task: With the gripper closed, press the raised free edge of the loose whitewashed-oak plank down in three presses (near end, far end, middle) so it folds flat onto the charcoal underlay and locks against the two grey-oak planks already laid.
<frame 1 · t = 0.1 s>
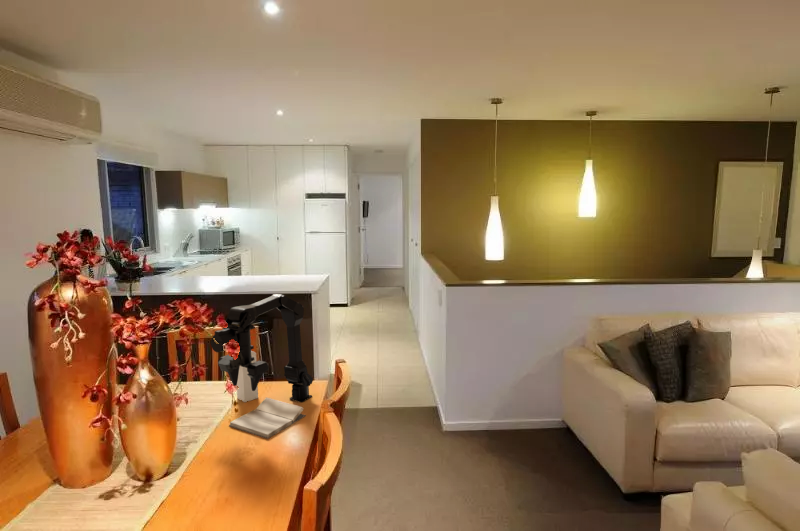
hand: (244, 388, 157), 15 cm above the table, fingers open, 9 cm apart
underlay mat: (268, 420, 164), on the table
laid planks: (261, 425, 161), resting on underlay mat
milk: (247, 398, 184), on the table
loose plank: (279, 409, 169), point 2 cm above the table, hinge at 25.0°
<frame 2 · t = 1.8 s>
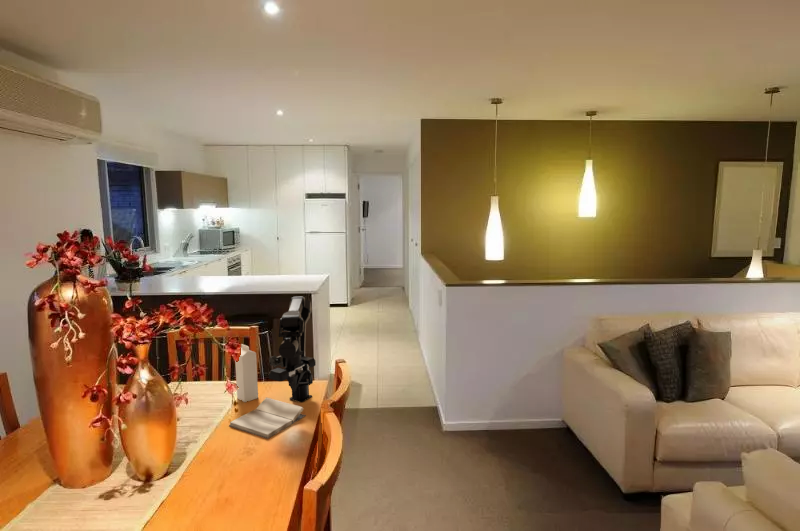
hand: (293, 390, 166), 10 cm above the table, fingers closed
nothing on the table moved.
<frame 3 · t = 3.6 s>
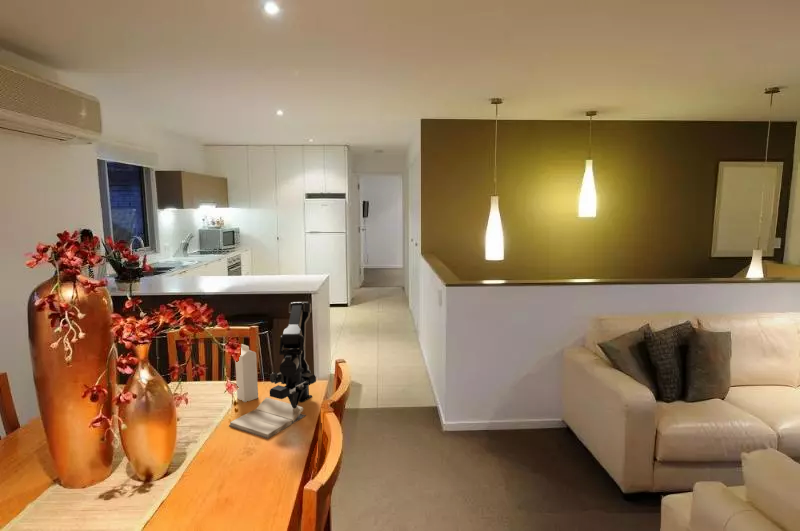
hand: (294, 407, 167), 4 cm above the table, fingers closed, pressing on loose plank
loose plank: (279, 409, 169), point 2 cm above the table, hinge at 25.0°, touching gripper
everything else where it was.
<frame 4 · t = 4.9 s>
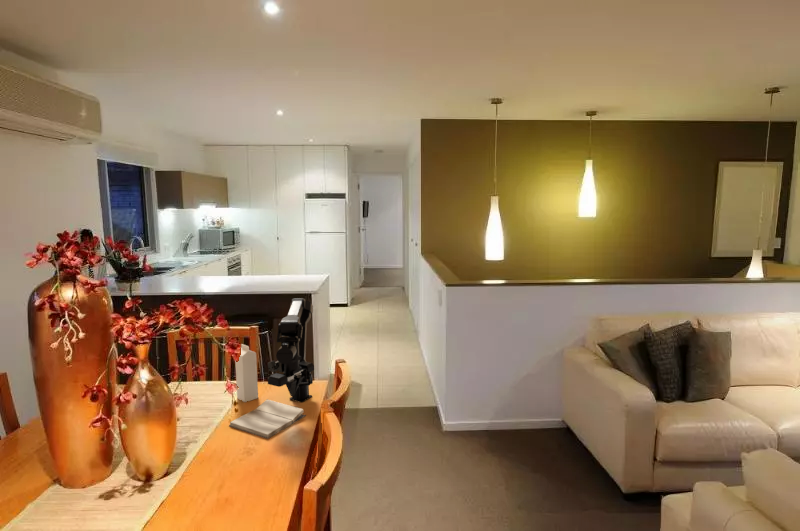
hand: (292, 395, 167), 8 cm above the table, fingers closed
loose plank: (279, 410, 169), point 2 cm above the table, hinge at 15.5°
everything else where it was.
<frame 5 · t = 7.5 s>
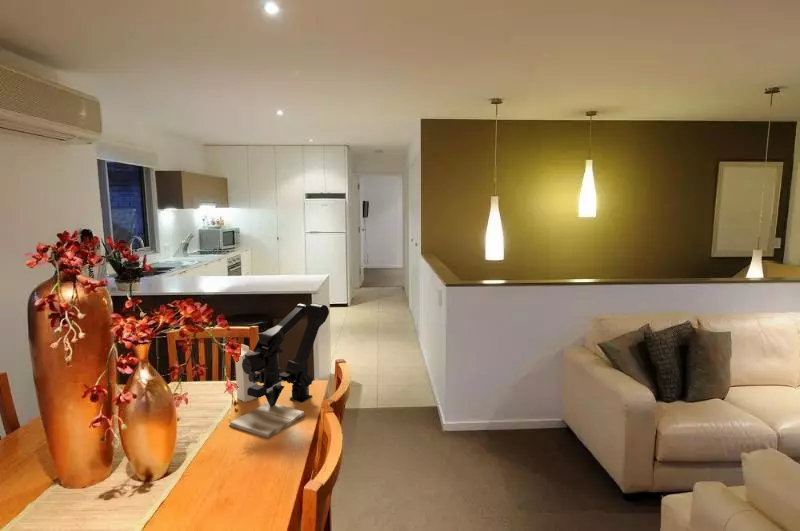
hand: (272, 406, 172), 2 cm above the table, fingers closed, pressing on loose plank
loose plank: (279, 411, 169), point 1 cm above the table, hinge at 6.1°, touching gripper
everything else where it was.
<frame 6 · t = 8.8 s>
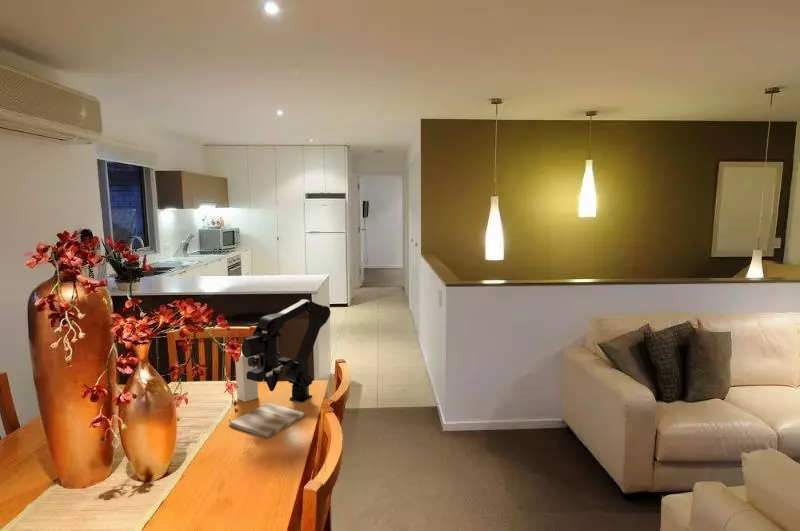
hand: (271, 390, 172), 8 cm above the table, fingers closed
loose plank: (279, 412, 169), point 1 cm above the table, hinge at 1.9°
everything else where it was.
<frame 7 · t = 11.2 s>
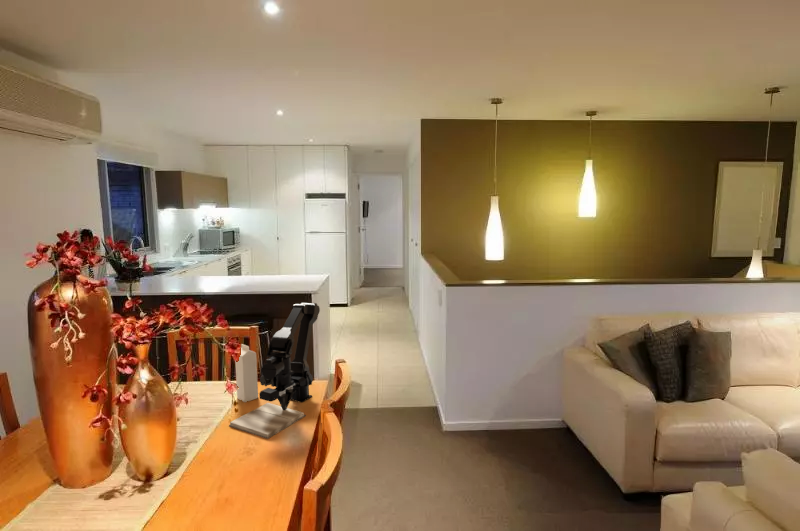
hand: (284, 409, 170), 2 cm above the table, fingers closed, pressing on loose plank
loose plank: (279, 412, 169), point 1 cm above the table, hinge at 1.8°, touching gripper
everything else where it was.
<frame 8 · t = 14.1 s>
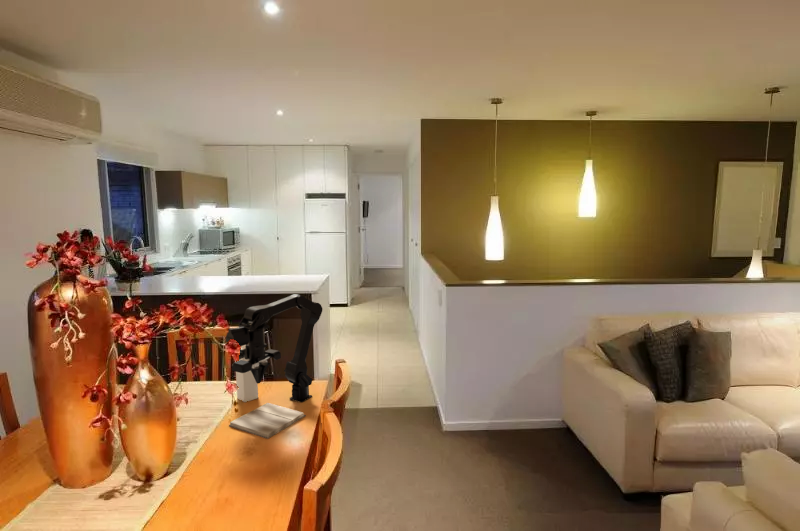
hand: (258, 383, 168), 12 cm above the table, fingers closed
loose plank: (279, 412, 169), point 1 cm above the table, hinge at 1.8°
everything else where it was.
at the end: loose plank at +2° (first picture: +25°); the gripper is holding nothing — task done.
